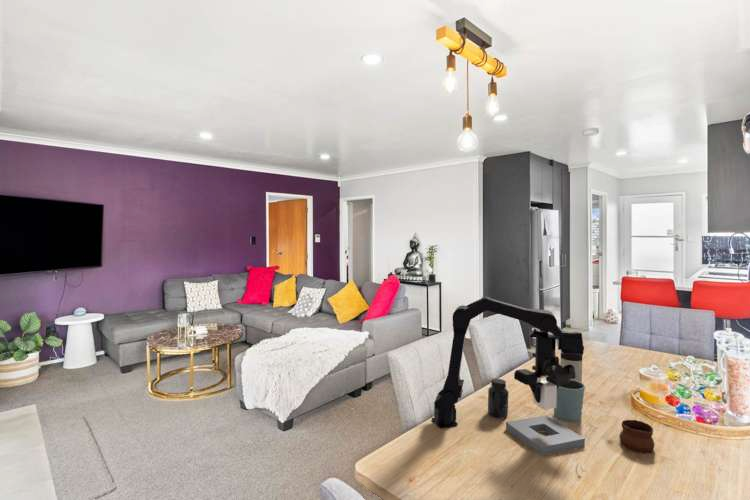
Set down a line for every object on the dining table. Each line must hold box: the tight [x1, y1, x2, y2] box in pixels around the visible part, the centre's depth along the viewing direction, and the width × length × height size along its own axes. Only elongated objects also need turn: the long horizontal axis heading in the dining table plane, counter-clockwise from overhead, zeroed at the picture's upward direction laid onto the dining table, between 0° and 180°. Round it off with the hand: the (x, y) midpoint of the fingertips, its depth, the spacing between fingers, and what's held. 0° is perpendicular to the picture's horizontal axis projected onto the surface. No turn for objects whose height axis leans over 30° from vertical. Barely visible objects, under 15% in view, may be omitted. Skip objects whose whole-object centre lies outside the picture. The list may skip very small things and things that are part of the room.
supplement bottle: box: [487, 378, 509, 419], centre depth 139 cm, size 7×7×12 cm
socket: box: [505, 414, 586, 456], centre depth 123 cm, size 16×16×2 cm
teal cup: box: [553, 379, 586, 424], centre depth 137 cm, size 10×10×12 cm
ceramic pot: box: [619, 419, 655, 454], centre depth 119 cm, size 18×18×7 cm
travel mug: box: [559, 351, 583, 383], centre depth 161 cm, size 8×8×18 cm
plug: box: [532, 379, 557, 411], centre depth 123 cm, size 4×5×7 cm
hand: (544, 401), depth 123 cm, fingers closed on plug, 4 cm apart
